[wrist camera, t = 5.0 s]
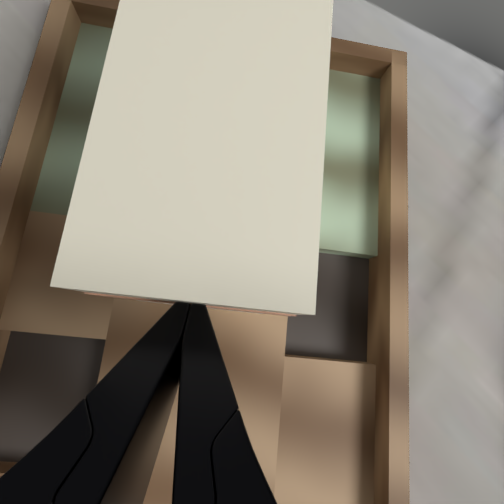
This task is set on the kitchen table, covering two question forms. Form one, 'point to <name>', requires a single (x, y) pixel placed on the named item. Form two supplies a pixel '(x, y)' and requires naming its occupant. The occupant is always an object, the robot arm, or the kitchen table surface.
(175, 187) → the cream block
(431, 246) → the kitchen table surface
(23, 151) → the tray
